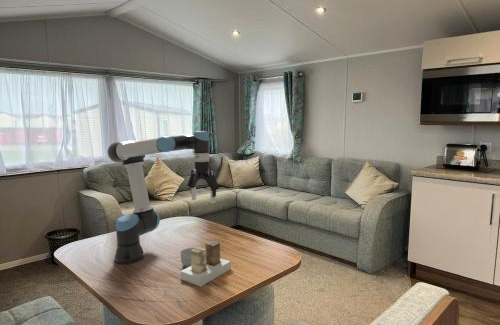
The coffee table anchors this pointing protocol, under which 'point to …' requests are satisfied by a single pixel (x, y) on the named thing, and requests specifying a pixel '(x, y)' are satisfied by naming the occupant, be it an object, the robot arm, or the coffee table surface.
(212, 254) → the walnut pin
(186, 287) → the coffee table surface
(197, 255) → the pin
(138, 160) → the robot arm
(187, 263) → the teacup
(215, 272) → the bore block
